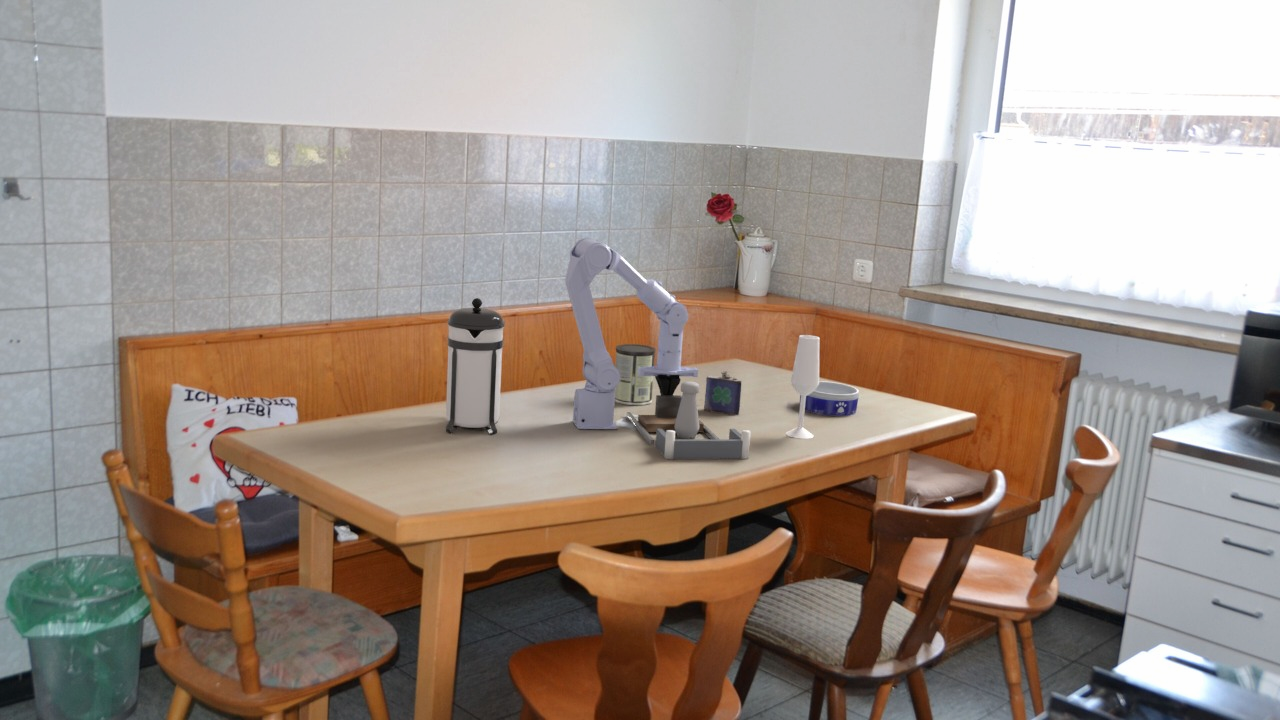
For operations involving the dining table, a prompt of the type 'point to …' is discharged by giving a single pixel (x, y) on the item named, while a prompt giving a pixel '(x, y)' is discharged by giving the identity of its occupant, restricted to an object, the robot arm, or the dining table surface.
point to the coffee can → (634, 374)
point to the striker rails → (651, 440)
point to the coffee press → (474, 368)
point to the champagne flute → (805, 377)
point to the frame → (703, 446)
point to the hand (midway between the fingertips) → (665, 405)
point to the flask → (723, 394)
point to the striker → (664, 414)
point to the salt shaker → (688, 411)
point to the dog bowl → (832, 399)
